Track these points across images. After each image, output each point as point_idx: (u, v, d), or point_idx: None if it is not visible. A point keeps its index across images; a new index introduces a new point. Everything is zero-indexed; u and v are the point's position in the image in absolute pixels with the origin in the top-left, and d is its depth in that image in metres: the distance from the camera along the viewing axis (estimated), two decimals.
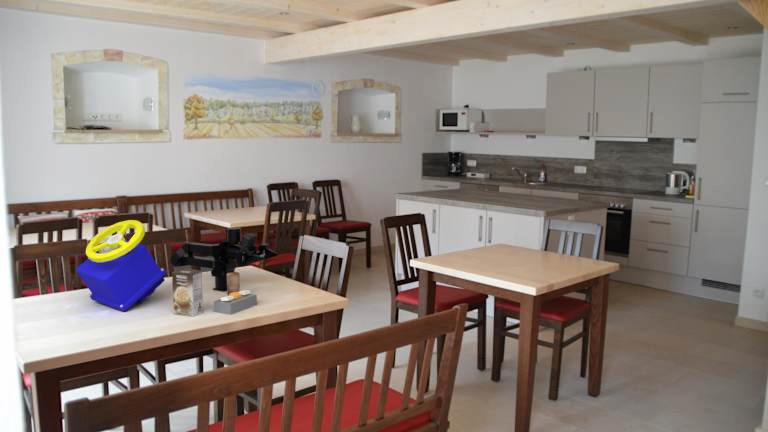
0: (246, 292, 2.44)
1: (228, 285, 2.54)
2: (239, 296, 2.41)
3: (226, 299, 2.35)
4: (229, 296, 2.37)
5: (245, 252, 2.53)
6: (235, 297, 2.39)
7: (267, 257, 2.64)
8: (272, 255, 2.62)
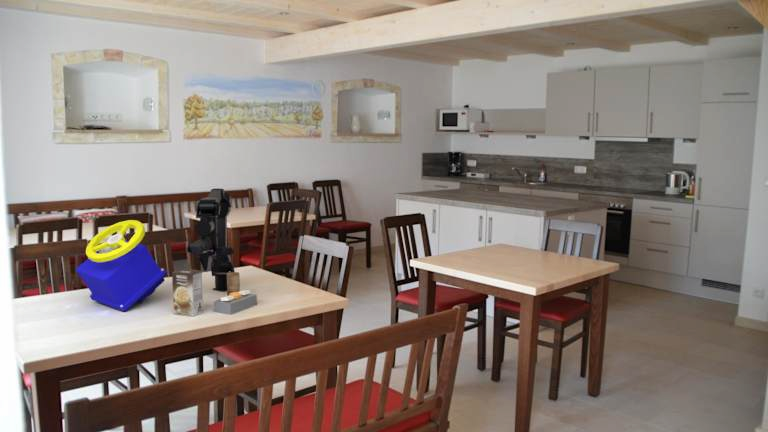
0: (246, 292, 2.44)
1: (228, 285, 2.54)
2: (239, 296, 2.41)
3: (226, 299, 2.35)
4: (229, 296, 2.37)
5: (195, 254, 2.45)
6: (235, 297, 2.39)
7: None
8: None
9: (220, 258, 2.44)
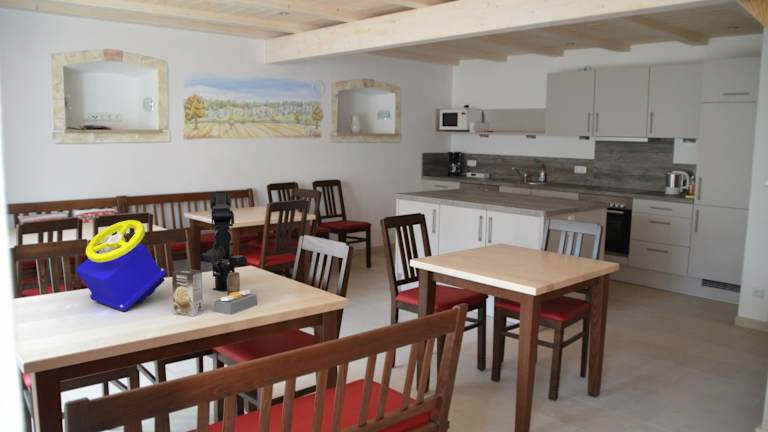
0: (246, 292, 2.44)
1: (228, 285, 2.54)
2: (239, 296, 2.41)
3: (226, 299, 2.35)
4: (229, 296, 2.37)
5: (213, 264, 2.41)
6: (235, 297, 2.39)
7: None
8: None
9: (228, 267, 2.42)
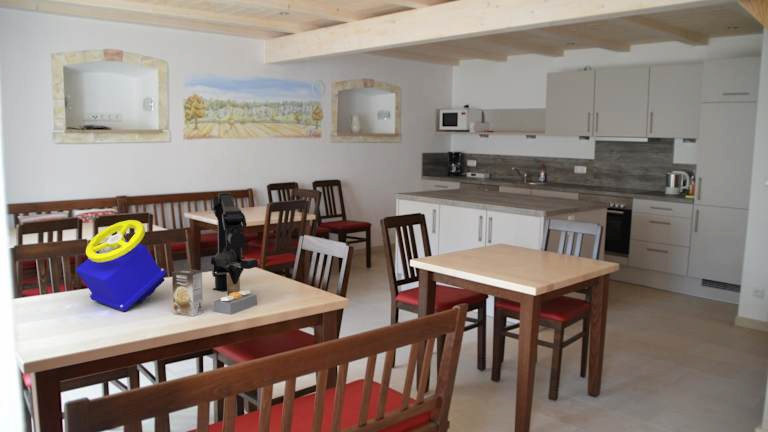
0: (246, 292, 2.44)
1: (228, 285, 2.54)
2: (239, 296, 2.41)
3: (226, 299, 2.35)
4: (229, 296, 2.37)
5: (224, 267, 2.39)
6: (235, 297, 2.39)
7: None
8: None
9: (239, 270, 2.40)
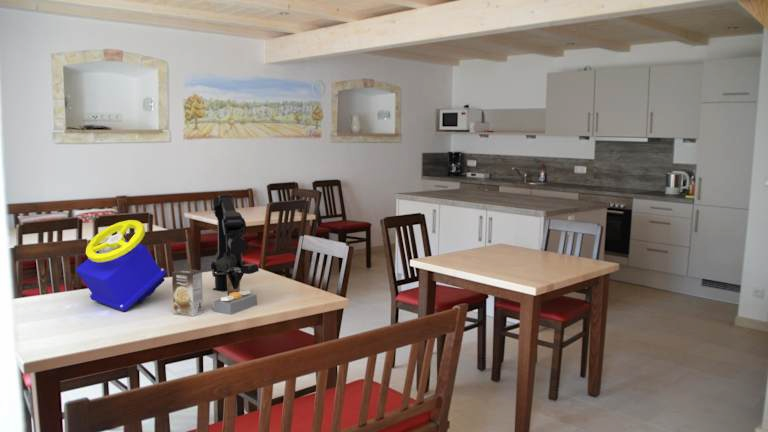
0: (246, 292, 2.44)
1: (228, 285, 2.54)
2: (239, 296, 2.41)
3: (226, 299, 2.35)
4: (229, 296, 2.37)
5: (224, 272, 2.39)
6: (235, 297, 2.39)
7: None
8: None
9: (240, 275, 2.40)
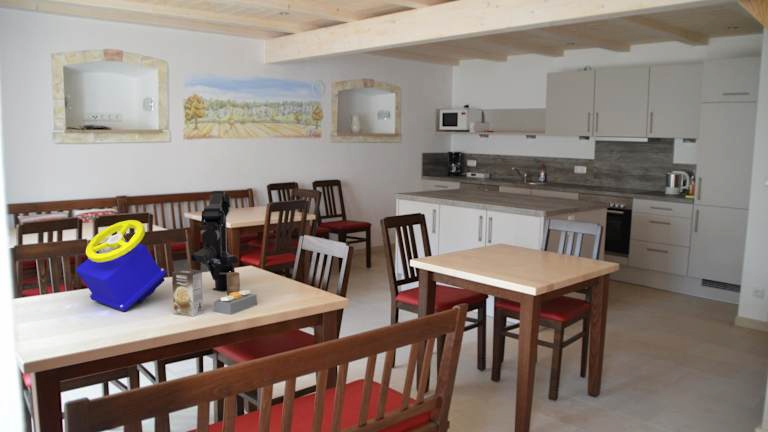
0: (246, 292, 2.44)
1: (228, 285, 2.54)
2: (239, 296, 2.41)
3: (226, 299, 2.35)
4: (229, 296, 2.37)
5: (204, 263, 2.44)
6: (235, 297, 2.39)
7: None
8: None
9: (219, 266, 2.45)
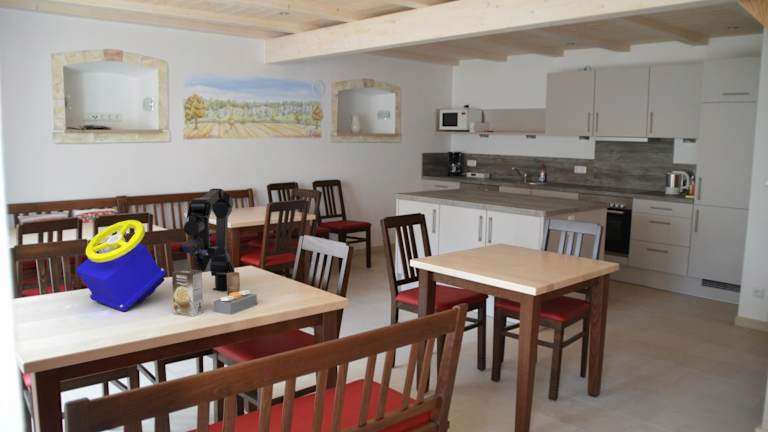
0: (246, 292, 2.44)
1: (228, 285, 2.54)
2: (239, 296, 2.41)
3: (226, 299, 2.35)
4: (229, 296, 2.37)
5: (192, 255, 2.45)
6: (235, 297, 2.39)
7: None
8: None
9: (207, 257, 2.46)
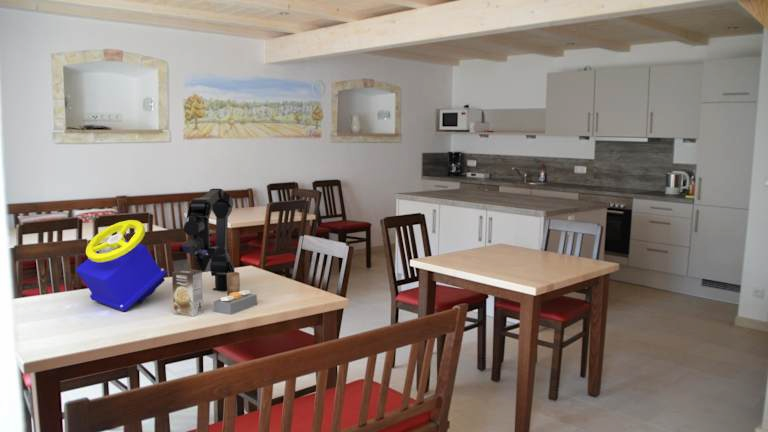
0: (246, 292, 2.44)
1: (228, 285, 2.54)
2: (239, 296, 2.41)
3: (226, 299, 2.35)
4: (229, 296, 2.37)
5: (192, 255, 2.45)
6: (235, 297, 2.39)
7: None
8: None
9: (207, 257, 2.46)
